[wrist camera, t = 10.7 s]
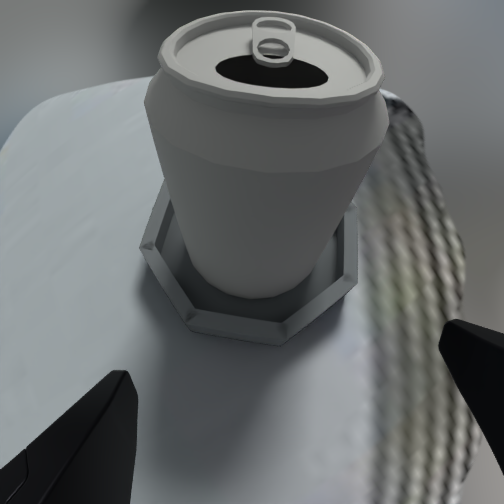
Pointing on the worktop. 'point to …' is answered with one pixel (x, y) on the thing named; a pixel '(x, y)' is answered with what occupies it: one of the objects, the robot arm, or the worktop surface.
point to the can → (263, 141)
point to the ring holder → (242, 309)
